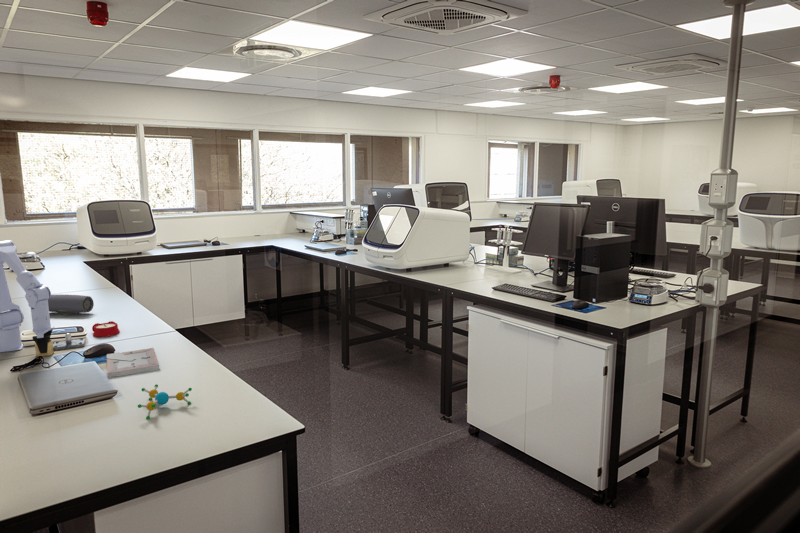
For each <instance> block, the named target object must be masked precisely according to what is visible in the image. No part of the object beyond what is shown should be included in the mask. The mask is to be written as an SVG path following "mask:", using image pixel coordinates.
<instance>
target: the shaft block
mask: <svg viewBox="0 0 800 533" xmlns="http://www.w3.org/2000/svg"><path fill="white" fill-rule="evenodd" d="M64 336H65V340H61V341H55V342H54V341H53V348H54V351H60V350H69V349H76V348H83V347H85V345H86V344H85V343H86V338H85V337H84V338H78V339H72V335H71V333H70V332H67V333H65V335H64Z"/></svg>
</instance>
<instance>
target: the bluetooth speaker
mask: <svg viewBox="0 0 800 533" xmlns="http://www.w3.org/2000/svg"><path fill="white" fill-rule="evenodd" d="M94 306H95V304H94V300H93V298H92V296H89V295H82V294H81V295H79V294H51V297H50V299H48V307H49V313H57V315H62V314H66V315H68V316H70V315H71V316H72V315H73V316H77V315H79V314H82V313H83V314H84V313H85V314H86V313H89V312H91V311H93V309H94ZM66 315H65V316H66Z"/></svg>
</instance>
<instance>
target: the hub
mask: <svg viewBox="0 0 800 533" xmlns="http://www.w3.org/2000/svg"><path fill="white" fill-rule="evenodd" d="M53 344H54V340H53V339H50V340H49V341H48V350H47V353H42V354H41V353H40V351H39V349H38V346H37V344H36V343H35V342H34V349H35V356H36V357H39V356H42V357H48V356H52V355H53V354H54V352H55V350H54V348H53Z"/></svg>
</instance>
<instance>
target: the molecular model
mask: <svg viewBox="0 0 800 533" xmlns="http://www.w3.org/2000/svg"><path fill="white" fill-rule="evenodd" d="M158 387H159V384H157V383H155V385H154V389H153V388H152V389H150V390H147V389H146V388H145V387H141V392H146V393H147V394H148V397H149V398H148V401H149V402H147V404H137V408H138V409H141V408H146V409H147V410H148V412H147V415H146V418H145V419H146V420H149V419H151V412H152V411H154V410H155V409H156V408H157V405H158V406H159V405H160V406H163V405H165V404H167V403H168V402H169V399H176V400H177V401H184V402H186V403H187V405H191V404H192V401H190V400H187V399H186V398H188V397H189V393H188V392H191V391H192V390H193V389H192V387H189V388H188V389H186V390H184V392H182V391H178V392H177V393H176V394H175V395H169V394H168V393H167V392H165V391H160V392H158V390H157V388H158ZM153 399H154V401H152V400H153Z"/></svg>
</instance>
